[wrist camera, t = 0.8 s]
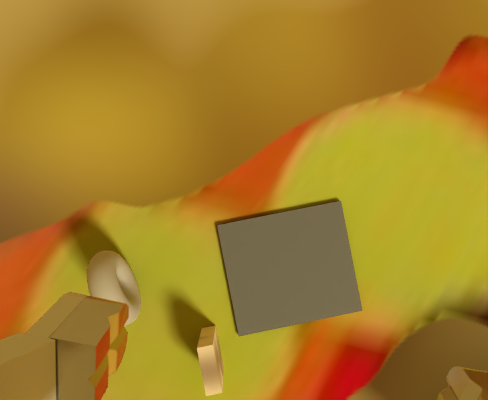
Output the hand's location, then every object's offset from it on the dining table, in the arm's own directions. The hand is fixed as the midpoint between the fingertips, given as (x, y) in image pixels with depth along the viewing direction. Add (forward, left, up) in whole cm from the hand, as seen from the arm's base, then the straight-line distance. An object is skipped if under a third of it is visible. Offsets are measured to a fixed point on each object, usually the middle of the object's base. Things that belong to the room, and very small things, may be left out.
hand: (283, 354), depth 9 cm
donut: (-4, +17, -43) cm, 46 cm away
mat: (-7, -6, -42) cm, 43 cm away
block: (-16, +7, -42) cm, 46 cm away
